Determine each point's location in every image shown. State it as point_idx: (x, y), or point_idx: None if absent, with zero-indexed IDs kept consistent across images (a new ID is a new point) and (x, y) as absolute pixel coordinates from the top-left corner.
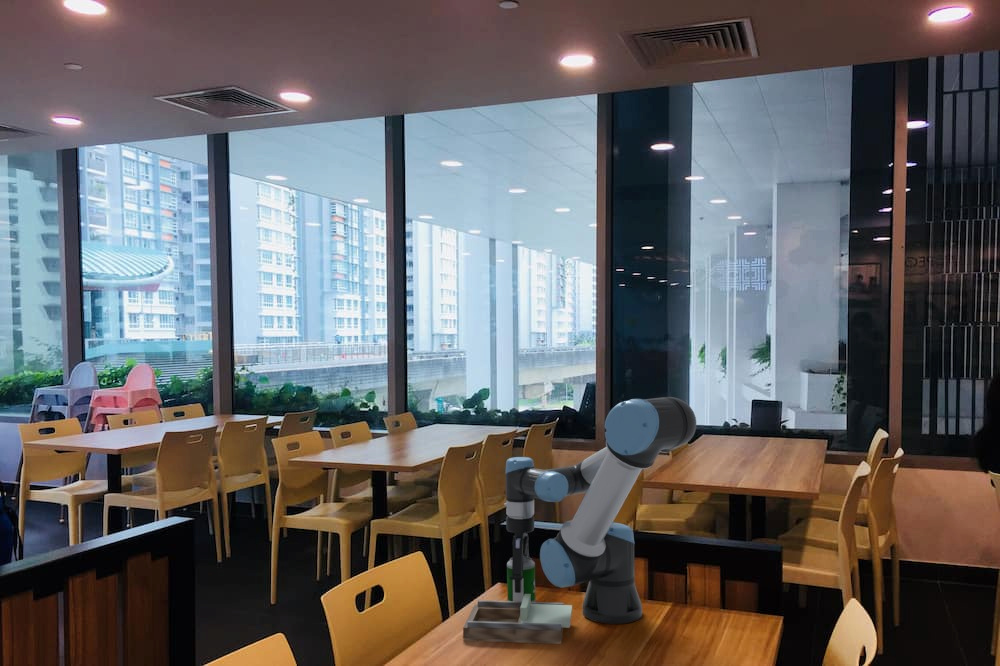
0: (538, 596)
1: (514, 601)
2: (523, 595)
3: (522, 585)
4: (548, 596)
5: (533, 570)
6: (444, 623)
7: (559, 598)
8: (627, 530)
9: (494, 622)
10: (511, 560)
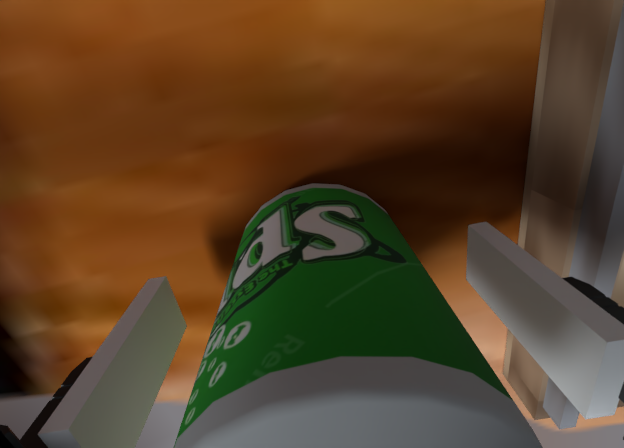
0: (155, 198)
1: (597, 271)
2: (503, 249)
3: (581, 300)
4: (126, 137)
5: (400, 324)
6: (573, 427)
7: (128, 48)
8: None
9: None
10: None
